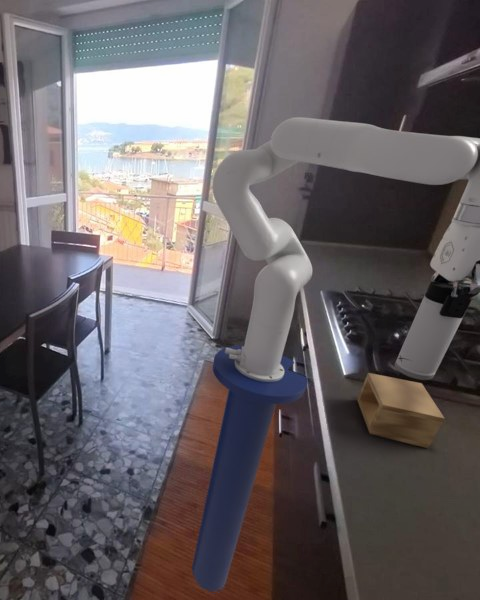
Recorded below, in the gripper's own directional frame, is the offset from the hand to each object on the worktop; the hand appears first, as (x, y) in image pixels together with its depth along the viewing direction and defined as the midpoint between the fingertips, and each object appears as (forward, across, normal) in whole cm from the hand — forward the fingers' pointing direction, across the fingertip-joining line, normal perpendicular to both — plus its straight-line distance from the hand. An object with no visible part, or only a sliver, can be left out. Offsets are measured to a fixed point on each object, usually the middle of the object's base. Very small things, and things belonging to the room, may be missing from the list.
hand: (442, 307), depth 69 cm
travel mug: (+15, 0, 0) cm, 15 cm away
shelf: (+29, 0, 0) cm, 29 cm away
